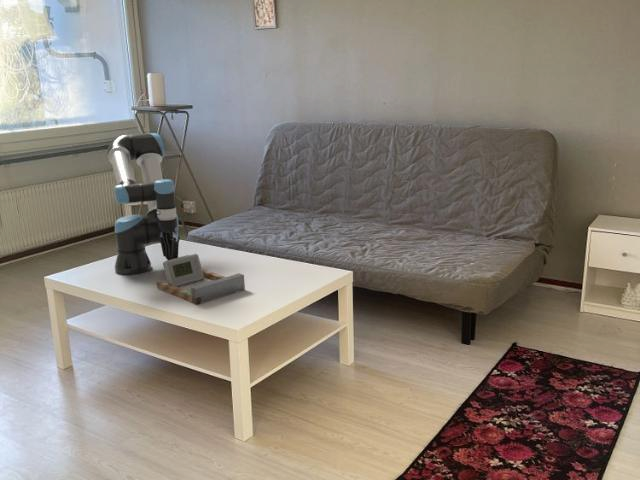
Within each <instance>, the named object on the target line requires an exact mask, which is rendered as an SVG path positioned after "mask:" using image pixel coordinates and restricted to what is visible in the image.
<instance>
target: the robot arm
mask: <svg viewBox="0 0 640 480" xmlns="http://www.w3.org/2000/svg"><path fill="white" fill-rule="evenodd" d="M163 142H164V141H163V140H162V137H161V135H159V134H158V133H157V132H156V133H155V132H153V133H151V132H147V133H133V134H131V133H130V134H122V135H120V136H117V137H116V138H115V139H113V140H112V142H111V143H110V144H109V146H108V148H107V153H106V154H107V155H106V156H107V159H108V161H109V163H110V164H111V165H112V169H113V174H114V177H115V180H116V181H115V182H116V185H115V186H114V187H113V192H114V194H113V195H114V200H115V203H116V204H119V205H120V204H122V205H123V204H125V205H126V204H134V203H143V202H146V203H147V208H148V211H147V212H146V214H145V217H144V216H143V215H142V214H140V213H139V214H130V215H125V216H122V217H120V218H118V219H116V221H115V222H114V233H115V240H116V241H115V242H116V250H117V255H116V258H115V259H116V260H115V264H114V271H115V273H116V274H119V275H136V274H142V273H145V272H147V271H150V270H151V269H152V262H151V260H150V258H149V255H148V252H147V251H146V245H153V244H160V246H161V251H162V255H163V257H165V259H166V261H168V260H171V259H174V258H178V257H179V248H180V247H179V246H180V245H179V243H180V240H181V239H180V236H179V216H178V214H177V207H176V205H177V204H176V197H175V194H176V193H175V191H176V190H175V186H174V185H175V184H174V181H173V180H172V179H170V178H168V179H167V178H166V179H165V178H163V173H162V168H161V164H162V162H163V158H164V157H165V156H166V155H165V154H166V153H165V148H164V143H163ZM131 161H135V162H136V164H137V165H138V166H139V167H140V170H141V171H140V172H141V176H142V180H143V182H142V183H137V180H136V178H135V174H134V170H133V167H132V164H131Z"/></svg>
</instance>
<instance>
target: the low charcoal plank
mask: <svg viewBox="0 0 640 480" xmlns="http://www.w3.org/2000/svg"><path fill="white" fill-rule="evenodd" d="M224 277H225V278H221V279H218V280H214V281H212V280H210V281H208V282H205V283H204V282H203V283H201V284H197V285H194V286H191V287H190V292H191V295H192V298H193V297H195V298H198V297H200V298H201V302H200V301H199V302H200V304H205V303H206V302H210V301H213V300H217V299H219V298H223V297H226V296H229V295H231V294H235V293H239V292H242V291H245V290H246V285H245V274H243V273H239V272H238V273H236V274H233V275H228V276H224ZM242 285H243V286H242ZM242 288H244V289H245V290H244V289H243V290H242ZM192 300H193V299H192ZM194 300H195V299H194ZM194 300H193V301H194ZM198 300H199V299H198ZM195 301H196V300H195ZM195 305H198V304H195Z"/></svg>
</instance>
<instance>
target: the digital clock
mask: <svg viewBox="0 0 640 480" xmlns="http://www.w3.org/2000/svg"><path fill="white" fill-rule="evenodd" d="M162 265H163V269H164V273H165V276H166V280H167V283H168V284H170V285H173V286H175V287H178V288H180V287H183V286H186V285H190V284H193V283H194V284H195V283H197V282H200V281H202V280H204V279H205V278H204V275H203V271H202V265H201V261H200V257H199V255H198V254H197V253H193V254H187V255H183V256H178V258H174V259H171V260H168V261H167V260H165V261H163V262H162Z"/></svg>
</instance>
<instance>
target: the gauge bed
mask: <svg viewBox="0 0 640 480" xmlns="http://www.w3.org/2000/svg"><path fill="white" fill-rule="evenodd" d="M202 271H203V275H204V279H207V280H209V281H214V280H218V279H221V278H225V277H226V276H224V275H221V274H218V273H215V272H212V271H210V270H206V269H202ZM242 286H243V285H242ZM156 288H157V289H158V290H161V291H163V292H166V293H168V294H169V295H170V294H171V295H174V296H175V297H178V298H179V299H183V300H185V301H187V302H189V303H192V304H195V305H196V304H197V305H200V304H201V303H200V302H201V298H200V297H198V298H195V297H193V298H192V295H191V291H189V290H185V289H184V288H180V287H175V286H173V285H170V284H168V282H166V281H163V280H158V281H156ZM243 289H244V288H242V291H245V290H246V288H245V289H244V290H243ZM192 299H193V300H194V299H195V300H196V301H195V300H194V301H193V300H192ZM198 299H199V300H198ZM199 301H200V302H199Z"/></svg>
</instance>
